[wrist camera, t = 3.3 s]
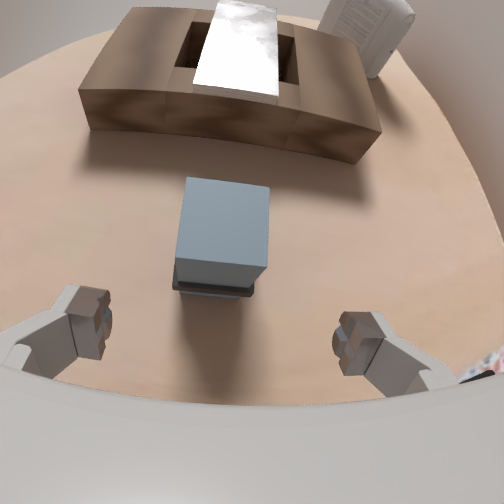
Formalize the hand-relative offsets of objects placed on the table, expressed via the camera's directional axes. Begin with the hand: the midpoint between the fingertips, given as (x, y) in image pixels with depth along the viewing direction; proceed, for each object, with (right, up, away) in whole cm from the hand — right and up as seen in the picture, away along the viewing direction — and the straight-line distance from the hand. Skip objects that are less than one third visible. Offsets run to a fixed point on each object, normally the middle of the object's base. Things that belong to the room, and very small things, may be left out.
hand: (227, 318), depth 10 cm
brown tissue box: (-1, +18, +17) cm, 25 cm away
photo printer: (+13, +28, +23) cm, 39 cm away
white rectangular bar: (-1, +19, +15) cm, 25 cm away
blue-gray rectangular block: (-2, +1, +11) cm, 11 cm away
